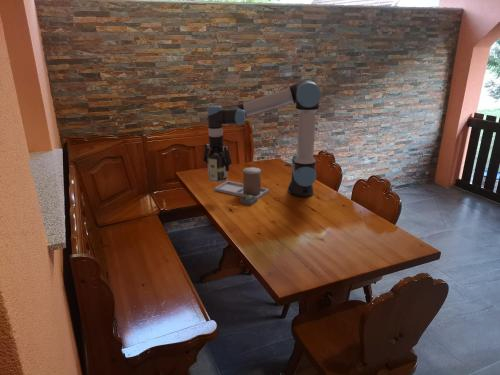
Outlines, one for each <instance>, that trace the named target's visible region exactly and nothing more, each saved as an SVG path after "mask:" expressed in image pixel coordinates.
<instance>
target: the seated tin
mask: <svg viewBox="0 0 500 375" xmlns="http://www.w3.org/2000/svg"><path fill="white" fill-rule="evenodd" d="M242 174H243V175H242V176H243V178H242V184H243V194H247V195H252V196H258V195H259V194H260V189H261V188H262V187H261V184H262V182H261V179H262V170H261V168H258V167H253V166H251V167H246V168H243V170H242Z"/></svg>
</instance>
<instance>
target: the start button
mask: <svg viewBox="0 0 500 375" xmlns="http://www.w3.org/2000/svg"><path fill="white" fill-rule="evenodd" d="M252 199H253V196H252V195H245V200H249V201H251V200H252Z"/></svg>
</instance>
